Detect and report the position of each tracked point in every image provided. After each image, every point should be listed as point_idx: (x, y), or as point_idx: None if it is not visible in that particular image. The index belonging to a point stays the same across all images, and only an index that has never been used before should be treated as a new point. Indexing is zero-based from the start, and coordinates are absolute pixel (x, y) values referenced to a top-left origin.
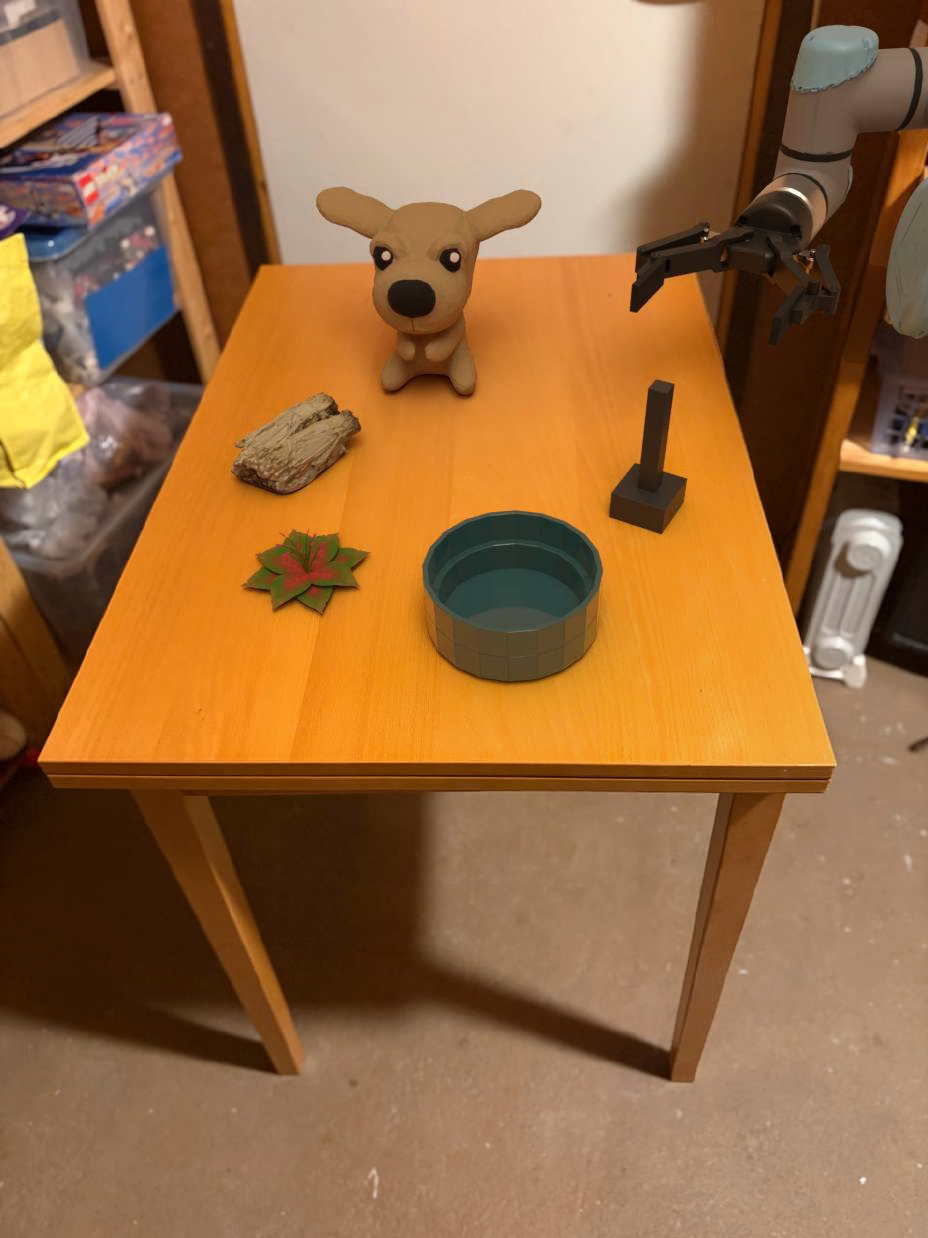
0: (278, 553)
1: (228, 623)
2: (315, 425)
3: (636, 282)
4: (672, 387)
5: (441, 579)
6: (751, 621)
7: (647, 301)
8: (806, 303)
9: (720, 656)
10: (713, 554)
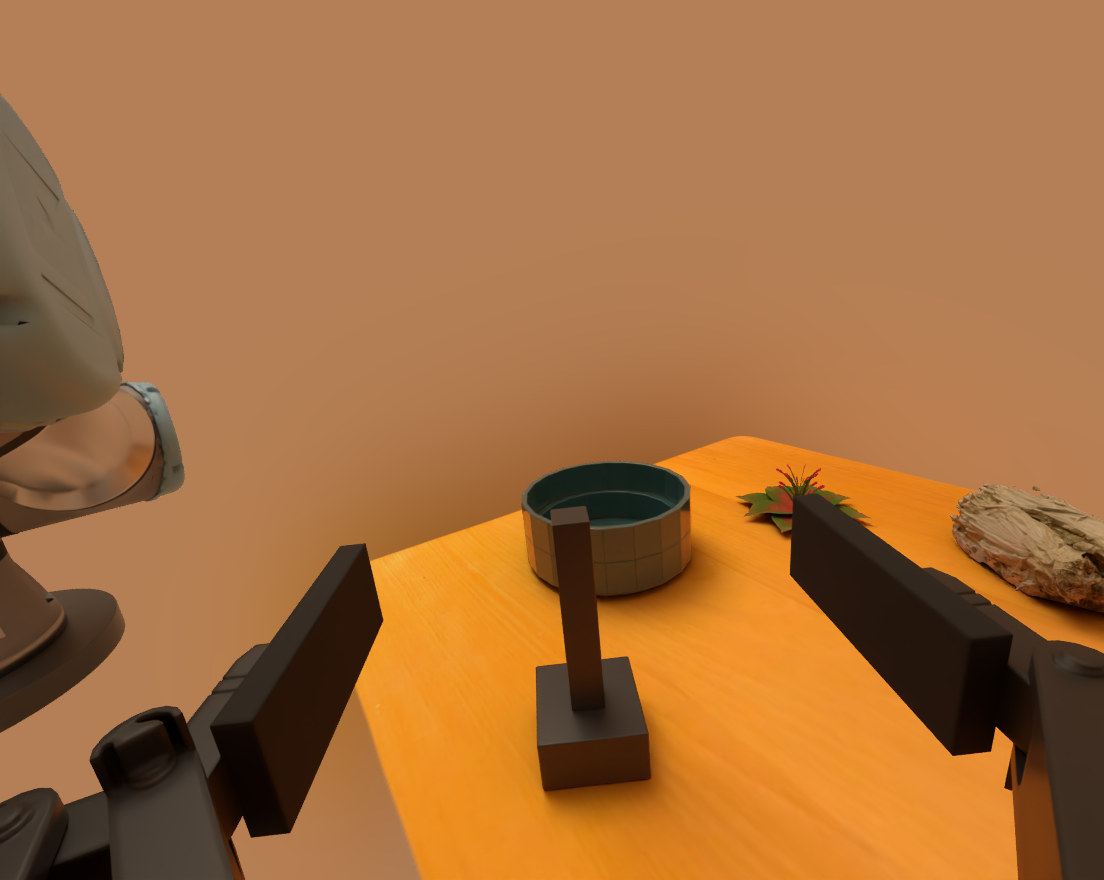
0: (833, 500)
1: (780, 479)
2: (1041, 527)
3: (822, 503)
4: (551, 522)
5: (669, 505)
6: (387, 648)
7: (836, 625)
8: (226, 695)
9: (413, 605)
10: (455, 711)
